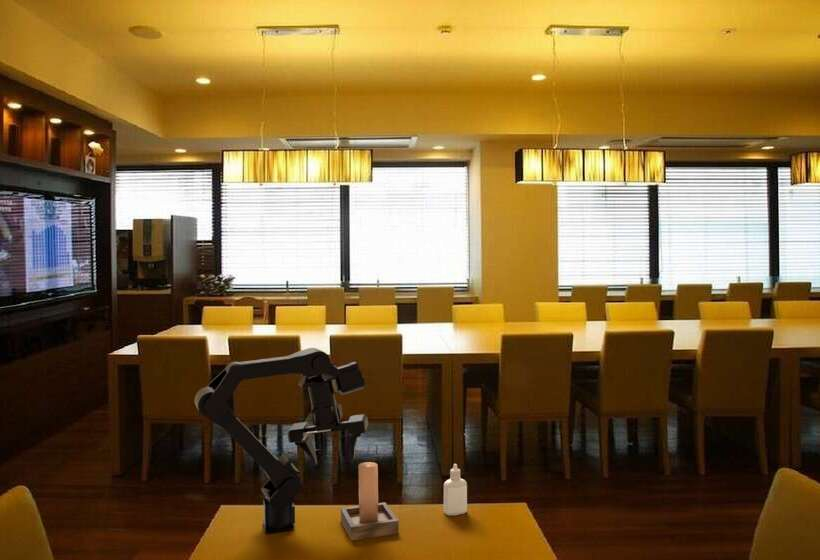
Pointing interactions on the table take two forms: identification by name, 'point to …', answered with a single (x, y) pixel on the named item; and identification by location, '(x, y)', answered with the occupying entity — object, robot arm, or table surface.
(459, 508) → the eye dropper bottle
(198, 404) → the robot arm
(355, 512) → the square wooden tray
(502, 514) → the table surface
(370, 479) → the peach tall rounded piece
